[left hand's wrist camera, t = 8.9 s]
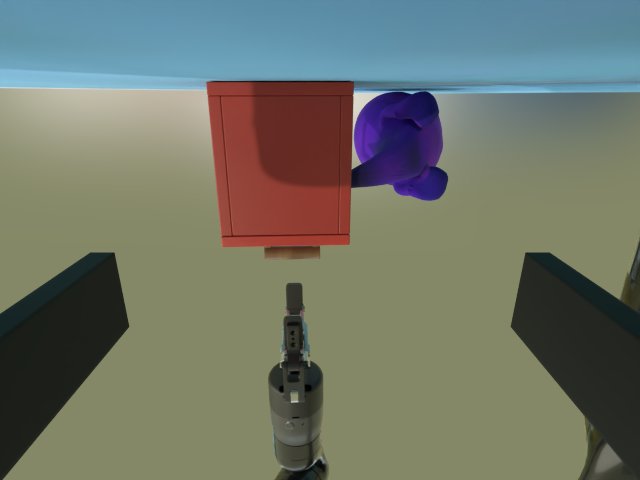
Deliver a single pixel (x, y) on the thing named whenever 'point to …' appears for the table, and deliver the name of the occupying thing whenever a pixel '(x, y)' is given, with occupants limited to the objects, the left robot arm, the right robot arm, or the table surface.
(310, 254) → the lid
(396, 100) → the toy
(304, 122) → the chest
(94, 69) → the table surface
